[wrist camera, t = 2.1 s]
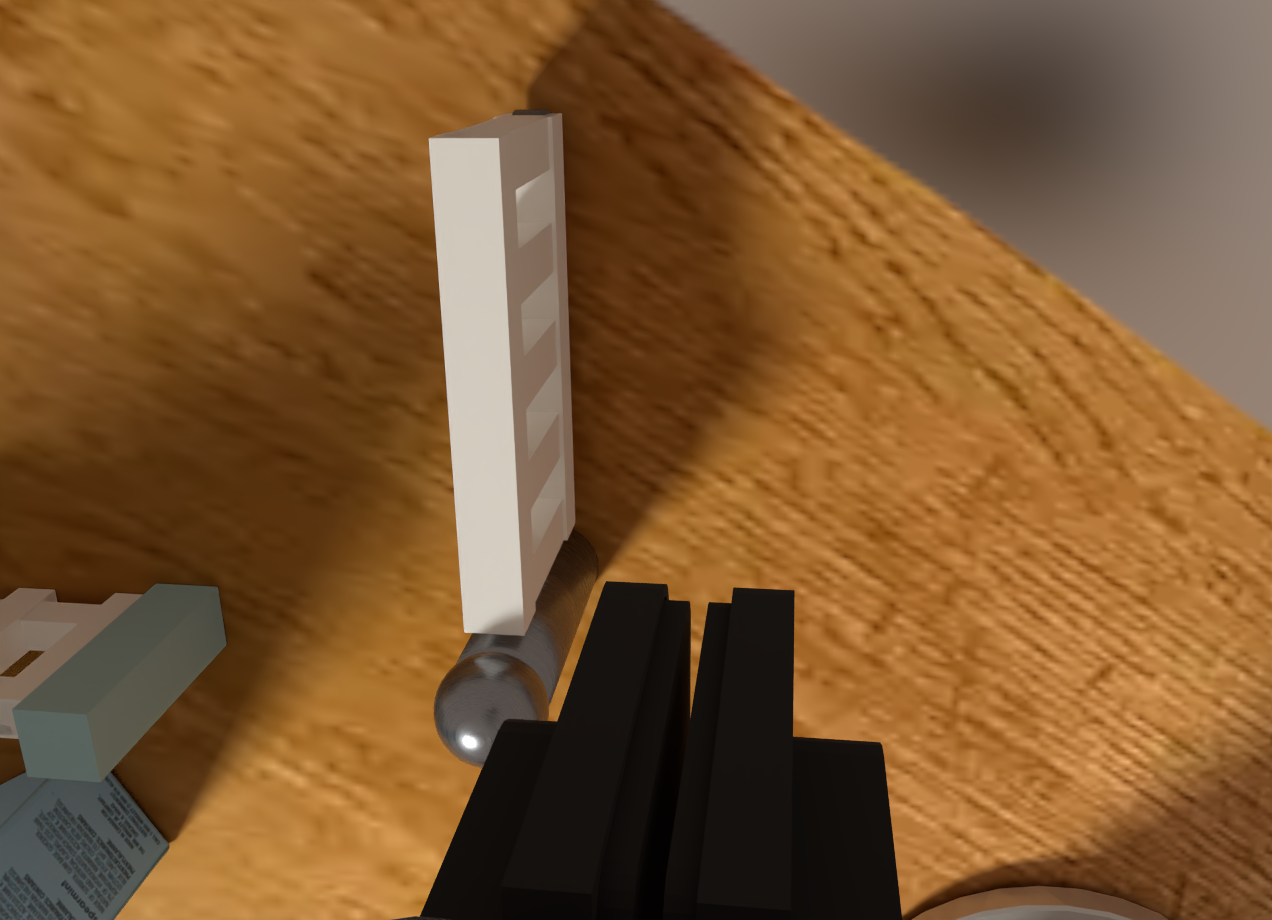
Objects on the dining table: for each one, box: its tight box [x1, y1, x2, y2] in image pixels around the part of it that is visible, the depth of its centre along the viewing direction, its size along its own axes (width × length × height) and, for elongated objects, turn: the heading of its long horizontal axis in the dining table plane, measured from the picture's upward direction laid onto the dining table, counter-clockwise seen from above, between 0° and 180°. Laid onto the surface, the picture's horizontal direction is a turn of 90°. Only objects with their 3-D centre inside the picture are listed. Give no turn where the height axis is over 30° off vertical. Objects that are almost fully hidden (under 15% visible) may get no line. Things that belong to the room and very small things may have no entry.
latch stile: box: [12, 584, 227, 782], centre depth 33 cm, size 2×2×7 cm
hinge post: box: [434, 530, 598, 768], centre depth 29 cm, size 3×3×9 cm
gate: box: [429, 110, 575, 636], centre depth 28 cm, size 11×1×7 cm, turn 1°
